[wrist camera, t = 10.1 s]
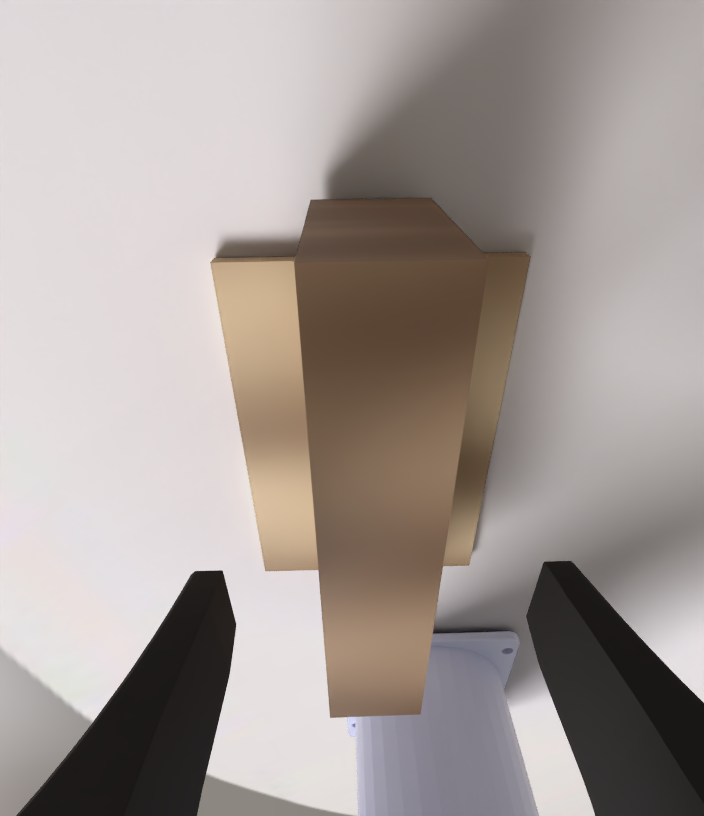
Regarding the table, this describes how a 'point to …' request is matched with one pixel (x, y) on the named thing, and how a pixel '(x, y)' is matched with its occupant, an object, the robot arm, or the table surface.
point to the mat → (286, 413)
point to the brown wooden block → (384, 430)
